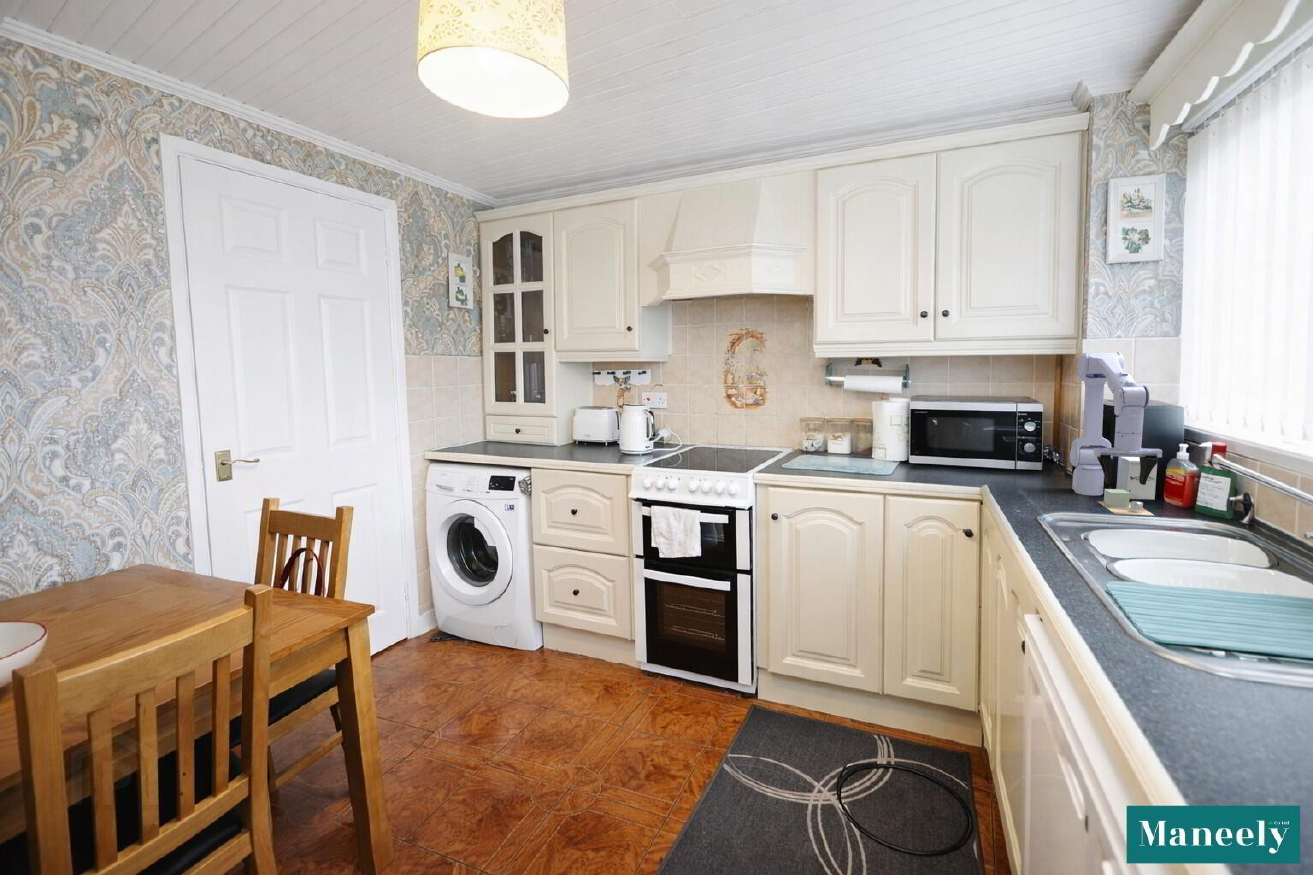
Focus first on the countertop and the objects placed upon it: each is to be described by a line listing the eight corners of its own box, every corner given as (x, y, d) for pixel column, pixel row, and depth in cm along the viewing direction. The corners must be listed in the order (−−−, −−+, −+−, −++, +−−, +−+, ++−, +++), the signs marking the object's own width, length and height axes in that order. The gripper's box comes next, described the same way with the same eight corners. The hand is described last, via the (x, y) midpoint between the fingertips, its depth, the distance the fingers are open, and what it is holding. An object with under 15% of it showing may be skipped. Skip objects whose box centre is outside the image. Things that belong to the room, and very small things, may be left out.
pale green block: (1103, 502, 183) (1104, 488, 182) (1122, 503, 181) (1123, 489, 181) (1109, 506, 178) (1110, 492, 178) (1128, 507, 177) (1129, 493, 176)
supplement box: (1125, 502, 186) (1128, 460, 184) (1115, 496, 193) (1117, 456, 191) (1155, 503, 184) (1158, 460, 182) (1143, 497, 191) (1146, 456, 189)
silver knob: (1128, 514, 174) (1129, 500, 174) (1139, 514, 174) (1140, 501, 173) (1132, 516, 172) (1133, 503, 171) (1143, 517, 171) (1144, 503, 171)
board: (1097, 505, 184) (1097, 501, 184) (1133, 506, 182) (1134, 502, 181) (1114, 518, 171) (1115, 513, 171) (1154, 519, 168) (1155, 515, 168)
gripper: (1101, 434, 164) (1098, 485, 166) (1168, 434, 159) (1164, 487, 161) (1092, 430, 171) (1089, 480, 172) (1156, 431, 166) (1153, 481, 168)
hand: (1125, 483), depth 167 cm, fingers open, 7 cm apart
